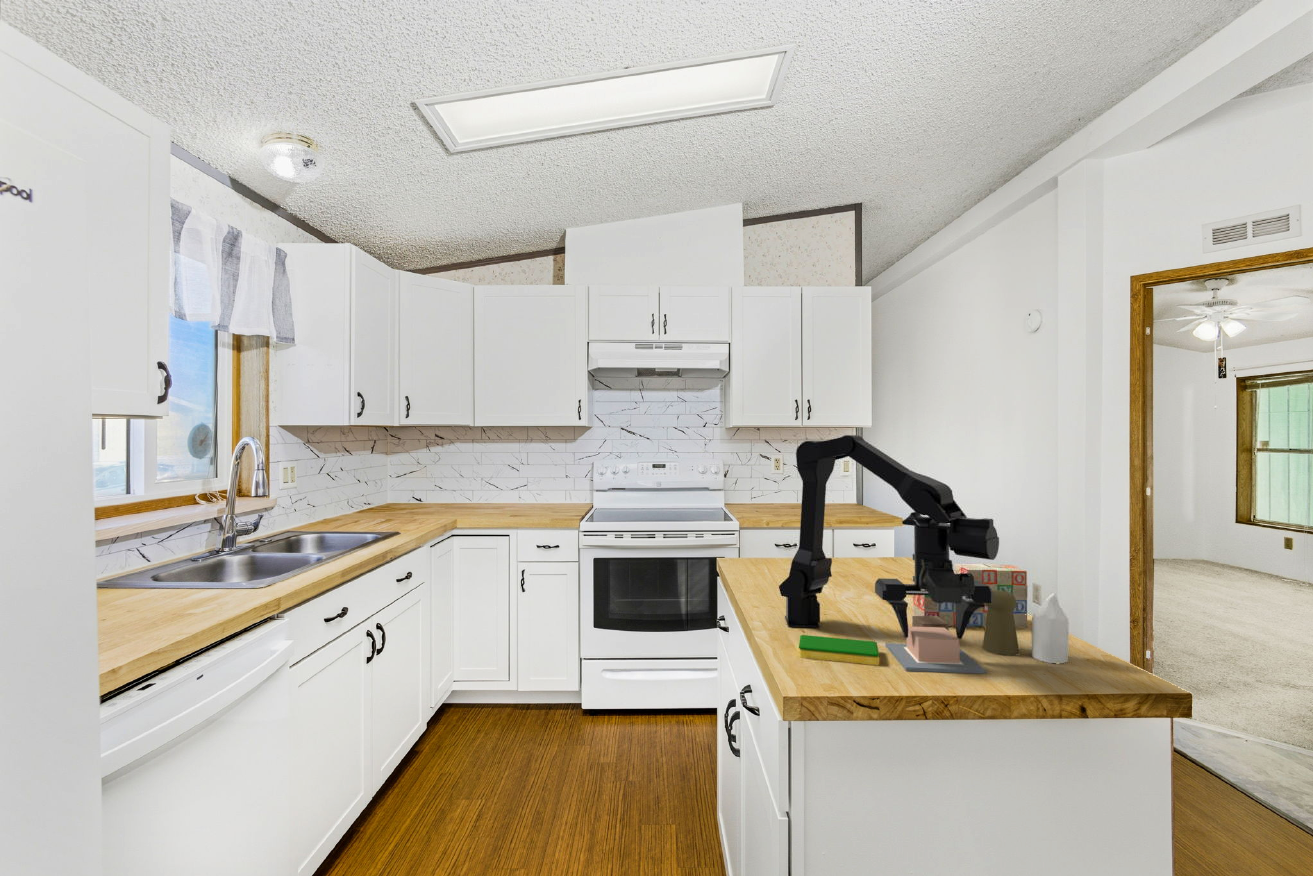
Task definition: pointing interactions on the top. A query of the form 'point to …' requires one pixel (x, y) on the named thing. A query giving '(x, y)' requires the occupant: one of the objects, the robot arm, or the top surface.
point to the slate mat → (914, 665)
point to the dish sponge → (839, 649)
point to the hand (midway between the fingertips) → (932, 637)
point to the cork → (1001, 625)
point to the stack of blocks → (996, 579)
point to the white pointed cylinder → (1050, 632)
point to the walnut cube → (929, 622)
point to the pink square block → (933, 644)
